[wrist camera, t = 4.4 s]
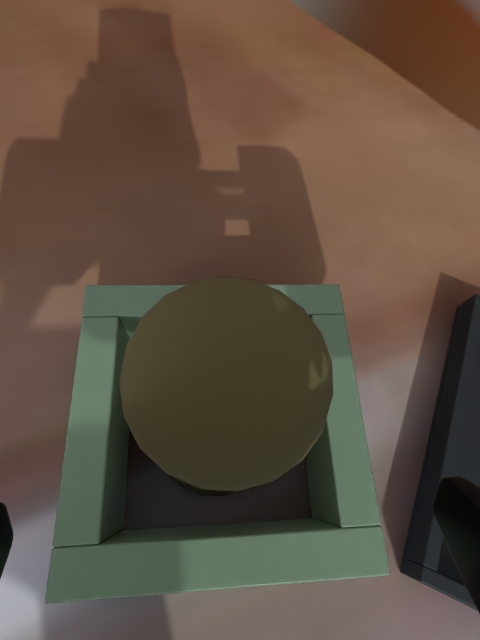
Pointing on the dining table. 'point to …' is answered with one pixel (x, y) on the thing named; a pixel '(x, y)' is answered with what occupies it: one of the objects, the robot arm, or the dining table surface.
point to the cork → (226, 384)
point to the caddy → (216, 539)
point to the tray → (448, 456)
